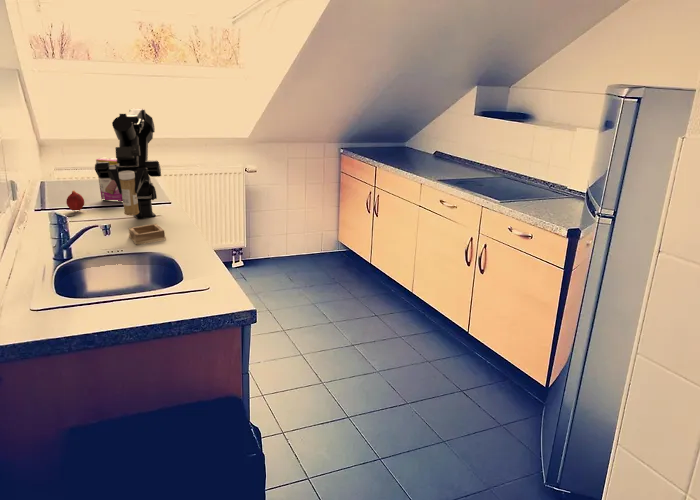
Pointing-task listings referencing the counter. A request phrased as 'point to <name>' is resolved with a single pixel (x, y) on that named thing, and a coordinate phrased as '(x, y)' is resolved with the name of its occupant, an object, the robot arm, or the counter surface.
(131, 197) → the sprinkles bottle
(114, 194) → the candy bar box
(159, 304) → the counter surface
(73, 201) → the onion
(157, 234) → the holder
